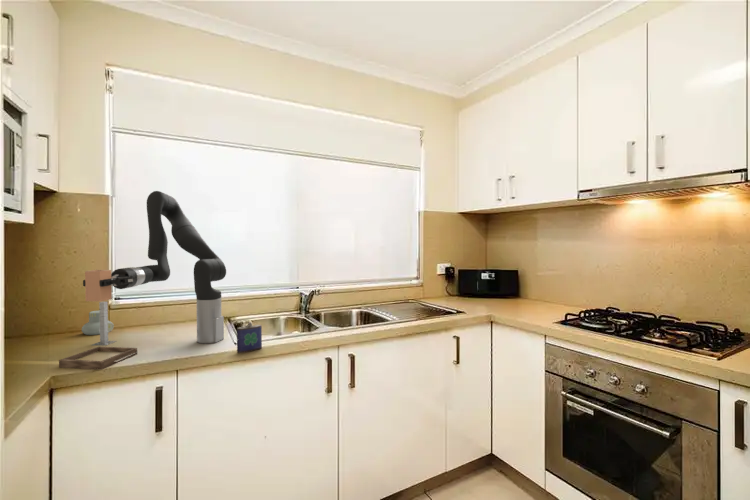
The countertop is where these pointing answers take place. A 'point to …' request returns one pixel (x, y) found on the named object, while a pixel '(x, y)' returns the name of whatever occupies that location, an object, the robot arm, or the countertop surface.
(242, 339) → the flask
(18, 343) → the countertop surface
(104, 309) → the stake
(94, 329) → the air freshener
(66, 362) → the tray
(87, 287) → the collar
